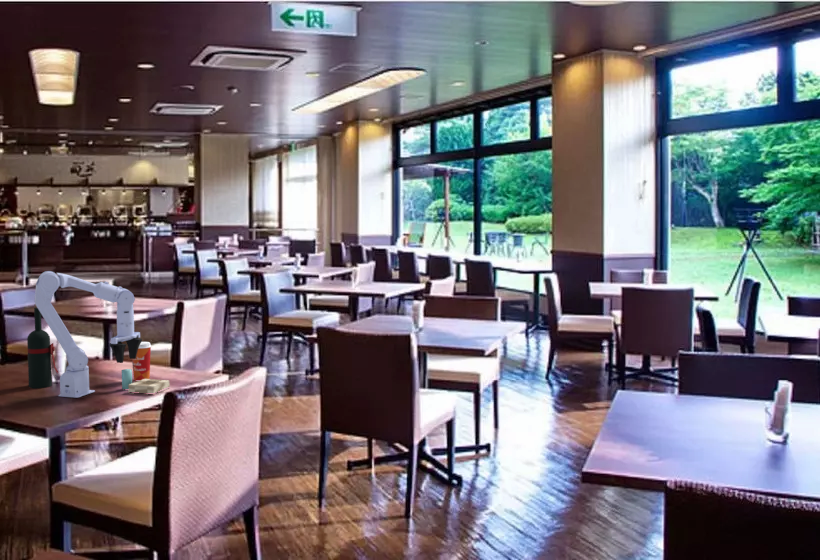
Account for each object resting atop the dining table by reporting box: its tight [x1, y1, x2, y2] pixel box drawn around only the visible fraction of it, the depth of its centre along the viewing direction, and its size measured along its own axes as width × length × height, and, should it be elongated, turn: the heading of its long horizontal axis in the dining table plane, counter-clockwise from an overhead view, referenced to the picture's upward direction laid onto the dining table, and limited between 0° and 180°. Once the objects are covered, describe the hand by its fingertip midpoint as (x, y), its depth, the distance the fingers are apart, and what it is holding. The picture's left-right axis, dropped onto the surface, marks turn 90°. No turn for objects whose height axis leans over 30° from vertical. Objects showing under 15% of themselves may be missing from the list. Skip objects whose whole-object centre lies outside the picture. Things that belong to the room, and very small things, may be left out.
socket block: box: [128, 378, 171, 393], centre depth 280 cm, size 10×10×3 cm
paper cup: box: [131, 341, 152, 381], centre depth 297 cm, size 8×8×14 cm
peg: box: [121, 368, 133, 389], centre depth 282 cm, size 4×4×7 cm
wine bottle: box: [26, 303, 60, 389], centre depth 286 cm, size 8×10×30 cm
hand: (126, 360), depth 282 cm, fingers open, 7 cm apart
